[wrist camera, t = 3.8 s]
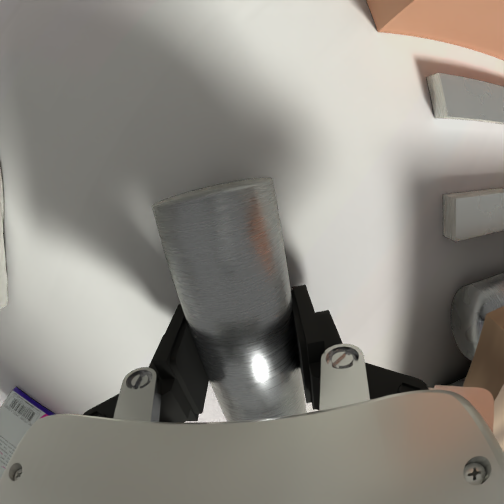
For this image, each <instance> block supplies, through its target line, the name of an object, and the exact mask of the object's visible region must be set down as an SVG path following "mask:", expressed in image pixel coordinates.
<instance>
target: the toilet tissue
mask: <svg viewBox="0 0 504 504" xmlns="http://www.w3.org/2000/svg"><path fill="white" fill-rule="evenodd" d="M3 218H4V199H3V184H2V176H1V169H0V310H1V309H2V308H4V307H6V306H7V304H8V292H7V282H8V278H7V274H6V258H5V249H4V239H3Z"/></svg>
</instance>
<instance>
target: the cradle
mask: <svg viewBox="0 0 504 504" xmlns="http://www.w3.org/2000/svg"><path fill="white" fill-rule="evenodd" d="M426 79H427V83H428V87H429V91H430V96H431V101H432V106H433V111H434V116H435V118H442V119H459V120H471V121H482V122H490V123H498V124H504V87H503V86H499V85H496V84H492V83H488V82H484V81H480V80H475V79H470V78H466V77H460V76H455V75H449V74H443V73H437V74H434V75H431V76H428V77H426ZM503 230H504V188H497V189H487V190H478V191H469V192H460V193H452V194H444V195H443V235H444V236H446V237H447V238H449V239H451V240H453V241H455V242H457V241H461V240H466V239H470V238H474V237H478V236H483V235H487V234H491V233H495V232H499V231H503Z"/></svg>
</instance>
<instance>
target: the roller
mask: <svg viewBox="0 0 504 504" xmlns="http://www.w3.org/2000/svg"><path fill="white" fill-rule="evenodd" d="M152 208H153V212H154V215H155V219H156V223H157V227H158V231H159V234H160V238H161V241H162V245H163V248H164V252H165V255H166V259H167V262H168V265H169V269H170V272H171V275H172V278H173V282H174V285H175V288H176V291H177V294H178V297H179V300H180V303H181V306H182V309H183V312H184V315H185V318H186V321H187V323H188V326H189V329H190V332H191V334H192V337H193V340H194V343H195V345H196V348H197V351H198V353H199V356H200V358H201V361H202V364H203V366H204V369H205V371H206V374H207V376H208V379H209V381H210V383H211V386H212V388H213V391H214V393H215V395H216V398H217V400H218V402H219V405H220V407H221V409H222V411H223V414H224V416H225V418H226V420H227V422H230V421H245V420H256V419H266V418H275V417H283V416H290V415H297V414H303V413H306V404H305V395H304V386H303V380H302V374H301V369H300V361H299V354H298V346H297V339H296V331H295V324H294V317H293V310H292V307H293V302H292V295H291V288H290V281H289V275H288V268H287V262H286V256H285V249H284V243H283V237H282V231H281V225H280V219H279V213H278V208H277V202H276V196H275V191H274V185H273V180H272V178H254V179H247V180H240V181H234V182H228V183H223V184H218V185H214V186H209V187H205V188H201V189H197V190H193V191H190V192H186V193H183V194H179V195H176V196H173V197H170V198H167V199H165V200H162V201H160V202H157V203H155V204H154V205H153V206H152Z"/></svg>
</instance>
